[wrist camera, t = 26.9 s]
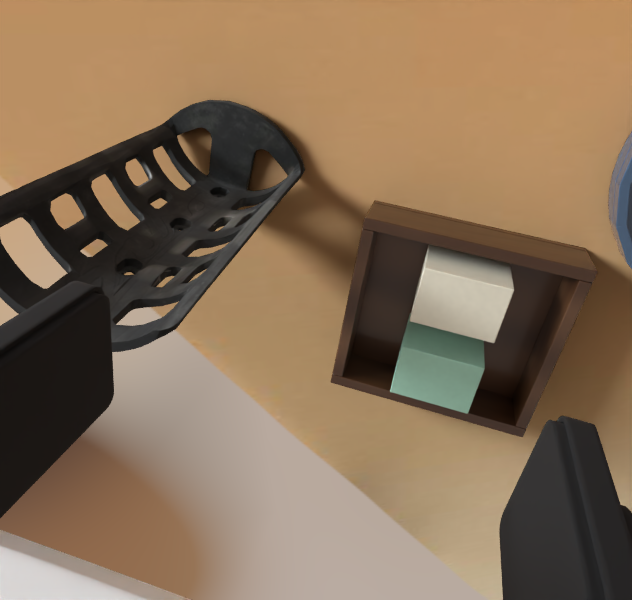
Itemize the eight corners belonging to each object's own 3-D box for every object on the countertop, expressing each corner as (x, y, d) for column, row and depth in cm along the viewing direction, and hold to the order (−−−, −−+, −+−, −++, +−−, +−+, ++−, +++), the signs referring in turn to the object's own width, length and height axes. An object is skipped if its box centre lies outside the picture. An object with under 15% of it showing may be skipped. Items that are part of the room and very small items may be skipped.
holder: (315, 116, 36) (165, 243, 20) (304, 217, 40) (173, 388, 24) (168, 87, 38) (-78, 182, 22) (173, 186, 42) (-30, 326, 26)
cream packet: (429, 240, 37) (424, 267, 33) (509, 259, 37) (514, 289, 32) (416, 289, 39) (409, 321, 35) (491, 309, 39) (494, 343, 34)
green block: (409, 312, 40) (402, 346, 36) (483, 331, 39) (484, 368, 35) (398, 355, 42) (389, 392, 38) (468, 374, 41) (467, 414, 37)
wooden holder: (374, 200, 38) (364, 217, 34) (585, 248, 36) (598, 271, 32) (341, 354, 44) (330, 382, 41) (518, 403, 42) (522, 437, 39)
